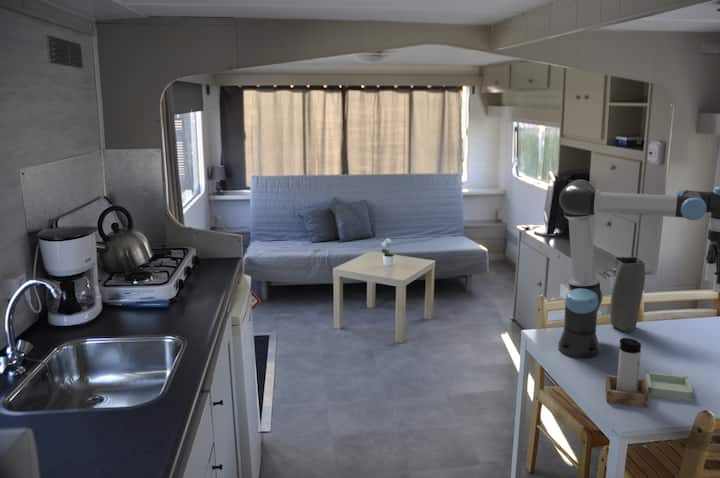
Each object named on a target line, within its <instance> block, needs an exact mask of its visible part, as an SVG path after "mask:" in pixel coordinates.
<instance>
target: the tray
mask: <svg viewBox="0 0 720 478" xmlns="http://www.w3.org/2000/svg"><path fill="white" fill-rule="evenodd" d="M644 380H645V382H646V387H647V392H648V397H654V398H655V397H656V398H661V397H663V398H664V399H669V398H670V400H671V399H672V400H677V399H679V400H678V401H685V402H686V401H687V402H693V400H694V391H693V388H692V385H691V382H690V379H689V377H688V376H684V375H675V374H668V373H667V374H666V373H658V372H649V371H645V374H644Z"/></svg>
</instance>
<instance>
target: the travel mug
mask: <svg viewBox="0 0 720 478" xmlns="http://www.w3.org/2000/svg"><path fill="white" fill-rule="evenodd" d="M641 348H642V343H641V342H640V341H638V340H636V339H633V338H629V337H622V338H620V339H619V351H618V353H619V354H618V367H617V375H616V376H617V388H615V389H616V390H615V391H622V392H630V393H638V391H637V387H638V379H639V373H640V363H641V352H642V350H641Z"/></svg>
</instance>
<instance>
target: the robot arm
mask: <svg viewBox="0 0 720 478" xmlns="http://www.w3.org/2000/svg"><path fill="white" fill-rule="evenodd" d="M558 200H559V205H560V207H561V208H562V210H563V216H564V217H565V219H566V220H568V228H569V229H568V230H569V244H570V245H569V247H570V255H571V256H570V257H571V258H570V259H571V271H572V278H570V279H569V281H568V286H569V287H568V288H569V290H568V292H567V293H566V295H565V299H564V302H565V303H564V305H565V306H564V307H565V308H564V323H563V330H562V333H561V335H560V339H559V340H558V344H557V345H558V347H557V348H558V351H559V352H561V353H562V354H564V355H566V356H569V357H573V358H578V359H579V358H580V359H590V358H594V357H597V356H598V355H599V354H600V344H599V340H598V336H597V333H596V332H597V321H598V320H597V318H598V313H599V310H600V306H601V305H602V302H603V293H602V290H601V282H600V279H599V278H598V277H596V265H595V251H594V238H593V237H594V235H593V217H594V216H596V215H598V214H612V215H613V214H618V215H632V216H633V215H634V216H649V217H650V216H653V217H669V218H670V217H671V218H681V219H682V218H684V219H686V220H689V221H698V220H701V219H702V218H703V217H704V216H705V215H706V213H709V214H710V216H709V223H708V228H709V229H708V232H707V240H709V241H710V244H709V247H708V250H707V254H706V258H705V260H706V268H705V269H706V271H705V279H704V281H706V282H713V289H712V291H713V293H720V185H717V186H715V187H714V188H713V190H712V191H704V190H703V191H700V190H688V189H686V190H685V189H684V190H681V189H678V190H677V191H675V195H669V194H647V193H631V192H630V193H629V192H628V193H626V192H625V193H624V192H606V191H605V192H603V191H600V190H599V189H598V188H597V189H596V188H595V187H594V185H593V184H592V183H591V182H589V181H587V180H585V179H576V180H572V181H570V182H569V183H567V185H566V186H565V187H564V188H563V189H562V190H561V191H560V193H559V199H558Z"/></svg>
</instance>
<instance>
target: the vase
mask: <svg viewBox="0 0 720 478" xmlns="http://www.w3.org/2000/svg"><path fill="white" fill-rule="evenodd" d="M613 260H614V265H615V266H614V267H615V277H614V278H615V279H614V283H613V287H612V290H611V297H610V309H609V311H610V312H609V313H610V314H609V316H610V317H609V318H610V319H609V320H610V324H611V326H613V327H615V328H616V329H618V330H620V331H622V332H626V333H627V332H628V333H630V332H634V331H635V330H636V327H637V323H638V318H639V314H640V313H639V312H640V307H641V302H642V298H643V293H644V288H645V284H646V283H645V282H646V266H645V261H644V260H643V259H641V258H640V257H637V256H618V257H614V259H613Z"/></svg>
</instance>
